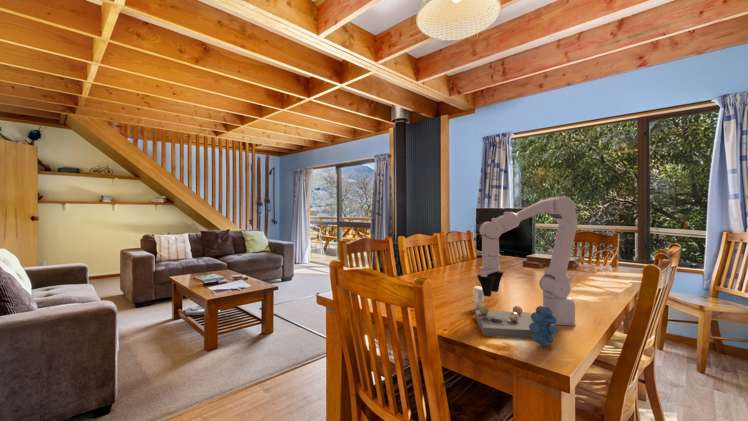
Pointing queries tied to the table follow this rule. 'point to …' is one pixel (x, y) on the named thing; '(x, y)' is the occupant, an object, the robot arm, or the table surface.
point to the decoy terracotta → (517, 310)
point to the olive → (484, 309)
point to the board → (504, 324)
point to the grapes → (543, 326)
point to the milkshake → (478, 297)
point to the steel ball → (514, 316)
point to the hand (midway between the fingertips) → (491, 293)
